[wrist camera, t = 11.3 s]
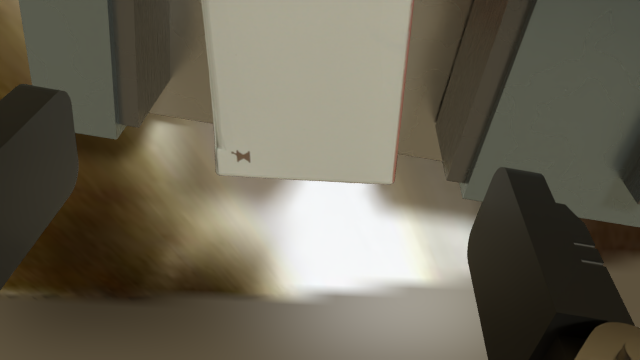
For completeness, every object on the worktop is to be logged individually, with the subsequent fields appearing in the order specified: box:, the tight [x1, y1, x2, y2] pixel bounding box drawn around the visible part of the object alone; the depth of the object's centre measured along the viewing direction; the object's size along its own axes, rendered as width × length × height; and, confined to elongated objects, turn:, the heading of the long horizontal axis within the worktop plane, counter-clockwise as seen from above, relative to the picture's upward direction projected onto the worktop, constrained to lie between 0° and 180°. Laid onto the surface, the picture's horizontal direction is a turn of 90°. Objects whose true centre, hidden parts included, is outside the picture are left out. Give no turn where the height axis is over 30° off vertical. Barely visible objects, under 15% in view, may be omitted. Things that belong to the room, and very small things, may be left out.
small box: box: [201, 0, 414, 184], centre depth 19 cm, size 8×6×10 cm
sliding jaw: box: [435, 0, 640, 227], centre depth 21 cm, size 10×14×6 cm
